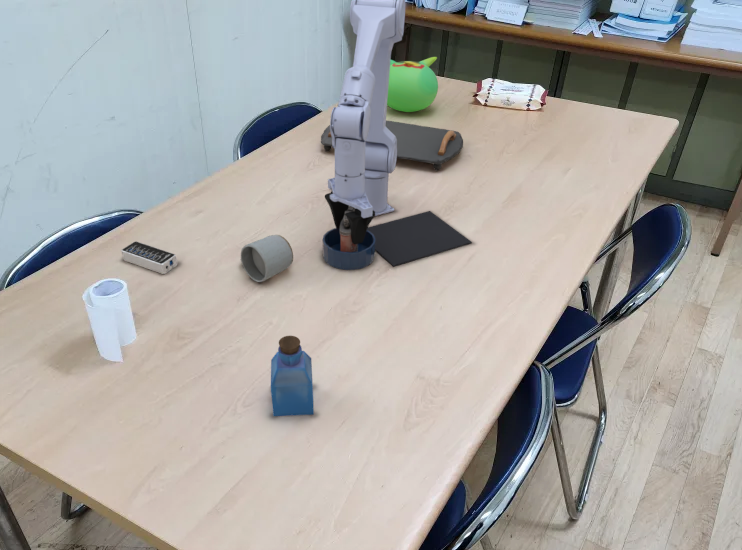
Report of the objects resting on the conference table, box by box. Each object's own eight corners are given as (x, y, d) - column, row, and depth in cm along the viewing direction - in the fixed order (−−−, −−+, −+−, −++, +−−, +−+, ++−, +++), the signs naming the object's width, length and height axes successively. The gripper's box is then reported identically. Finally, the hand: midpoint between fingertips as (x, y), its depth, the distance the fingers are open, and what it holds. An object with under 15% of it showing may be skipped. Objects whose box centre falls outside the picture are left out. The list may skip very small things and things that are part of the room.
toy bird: (374, 116, 194) (376, 65, 184) (381, 98, 206) (383, 48, 197) (433, 121, 192) (438, 69, 182) (437, 102, 204) (442, 52, 195)
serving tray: (469, 143, 180) (472, 121, 176) (449, 176, 164) (451, 152, 160) (341, 123, 190) (341, 101, 186) (310, 152, 174) (309, 129, 170)
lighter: (352, 265, 131) (353, 221, 124) (336, 263, 131) (336, 219, 125) (360, 246, 137) (361, 202, 130) (345, 244, 137) (345, 200, 130)
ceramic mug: (297, 271, 129) (295, 237, 124) (267, 288, 125) (264, 253, 120) (261, 253, 135) (257, 220, 129) (231, 269, 130) (226, 235, 125)
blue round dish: (314, 250, 136) (313, 233, 133) (358, 238, 140) (358, 221, 137) (338, 275, 129) (338, 257, 126) (384, 261, 133) (385, 244, 130)
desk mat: (354, 232, 142) (354, 230, 141) (429, 212, 149) (429, 210, 149) (393, 266, 131) (393, 265, 131) (471, 243, 139) (471, 241, 139)
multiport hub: (137, 250, 134) (135, 240, 133) (178, 264, 131) (176, 254, 129) (122, 260, 132) (120, 250, 130) (164, 274, 128) (161, 264, 126)
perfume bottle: (274, 388, 103) (268, 330, 95) (312, 387, 104) (310, 328, 96) (273, 416, 99) (267, 356, 91) (313, 414, 99) (311, 355, 91)
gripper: (313, 160, 125) (315, 223, 134) (350, 190, 116) (349, 255, 125) (345, 154, 128) (344, 216, 137) (383, 182, 118) (380, 247, 127)
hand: (349, 234), depth 131 cm, fingers closed on lighter, 6 cm apart
